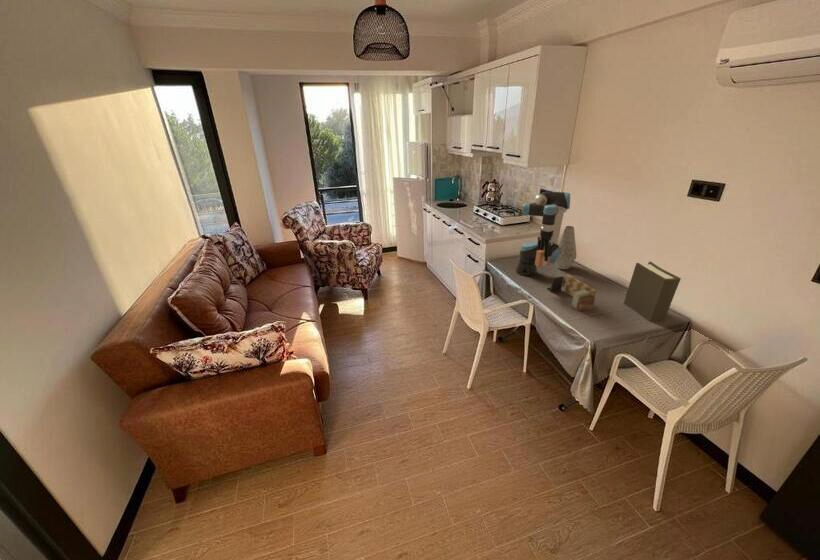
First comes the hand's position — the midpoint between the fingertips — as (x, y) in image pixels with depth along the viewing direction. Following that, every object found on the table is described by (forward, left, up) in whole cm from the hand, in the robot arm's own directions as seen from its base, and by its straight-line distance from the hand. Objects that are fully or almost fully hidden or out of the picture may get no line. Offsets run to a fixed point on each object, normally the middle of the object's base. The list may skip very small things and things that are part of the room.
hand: (542, 263), depth 218 cm
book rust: (0, 0, -1) cm, 1 cm away
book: (+47, +39, -19) cm, 64 cm away
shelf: (+21, +9, -19) cm, 30 cm away
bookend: (+5, +9, -19) cm, 21 cm away
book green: (+29, +9, -19) cm, 35 cm away
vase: (-23, +40, -19) cm, 50 cm away
